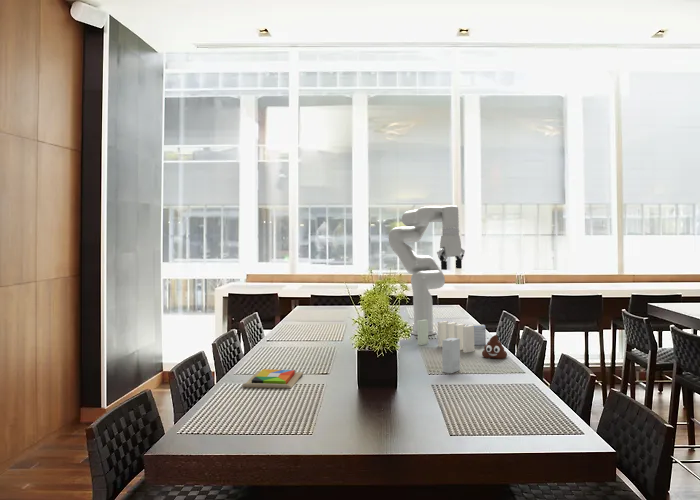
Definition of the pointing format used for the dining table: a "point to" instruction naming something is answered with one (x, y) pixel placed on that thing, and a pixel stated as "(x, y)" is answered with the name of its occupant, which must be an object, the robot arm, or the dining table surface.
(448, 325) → the domino
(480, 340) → the medicine box
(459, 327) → the domino
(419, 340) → the domino
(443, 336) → the domino
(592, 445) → the dining table surface
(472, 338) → the domino
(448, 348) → the skincare box
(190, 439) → the dining table surface
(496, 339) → the poop emoji
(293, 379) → the wooden puzzle
